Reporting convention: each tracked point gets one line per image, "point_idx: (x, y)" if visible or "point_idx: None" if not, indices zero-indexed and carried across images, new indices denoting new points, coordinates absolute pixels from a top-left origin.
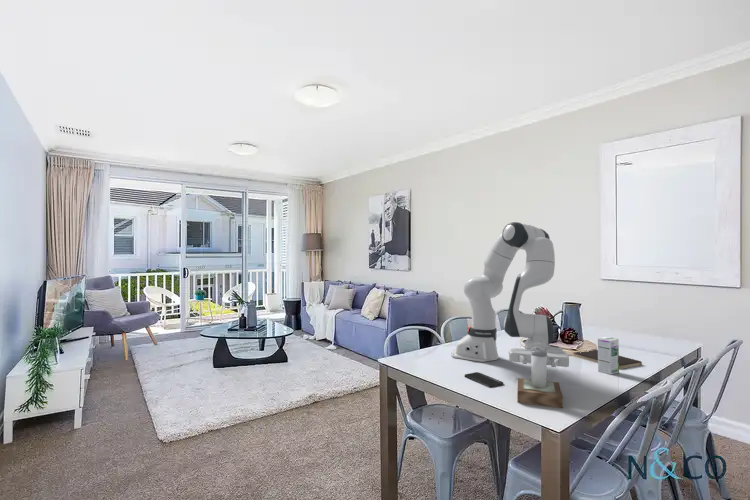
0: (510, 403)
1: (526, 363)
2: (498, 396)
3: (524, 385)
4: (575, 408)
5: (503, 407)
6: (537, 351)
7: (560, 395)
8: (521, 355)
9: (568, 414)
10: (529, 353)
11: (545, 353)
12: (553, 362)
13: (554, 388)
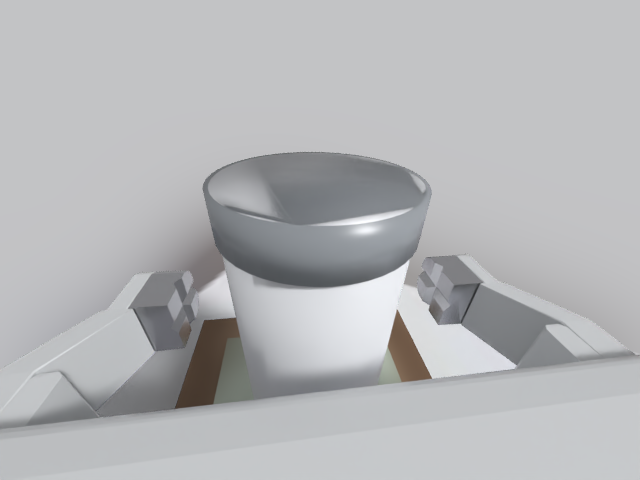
0: (403, 320)
1: (419, 281)
2: (482, 370)
3: (391, 369)
4: (153, 378)
5: (405, 287)
6: (336, 171)
7: (212, 324)
8: (599, 352)
9: (212, 312)
10: (539, 391)
11: (243, 164)
12: (167, 273)
13: (216, 395)
